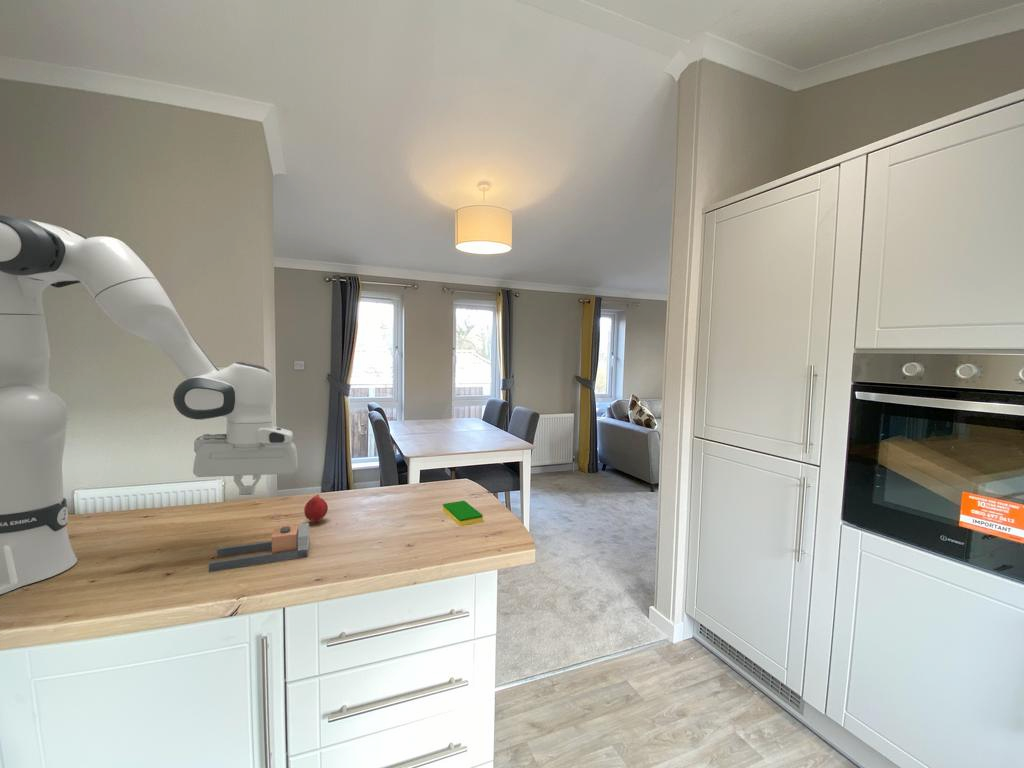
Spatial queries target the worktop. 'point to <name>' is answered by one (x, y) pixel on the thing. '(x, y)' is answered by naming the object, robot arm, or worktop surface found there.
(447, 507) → the dish sponge
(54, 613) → the worktop surface
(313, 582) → the worktop surface
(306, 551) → the rail
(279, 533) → the block
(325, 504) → the onion
